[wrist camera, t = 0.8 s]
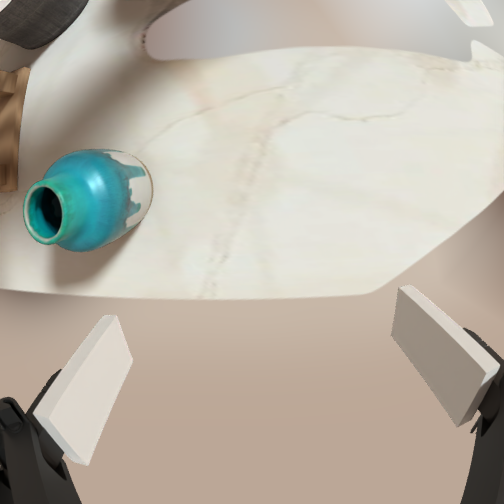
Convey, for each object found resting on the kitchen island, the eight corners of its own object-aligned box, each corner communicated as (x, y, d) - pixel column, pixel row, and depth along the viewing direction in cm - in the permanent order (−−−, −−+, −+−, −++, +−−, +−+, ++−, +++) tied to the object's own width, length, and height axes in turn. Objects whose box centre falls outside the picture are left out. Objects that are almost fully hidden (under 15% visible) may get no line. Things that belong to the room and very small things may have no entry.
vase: (169, 218, 37) (109, 266, 19) (104, 232, 38) (22, 282, 19) (155, 142, 34) (81, 127, 16) (90, 162, 34) (-4, 171, 16)
